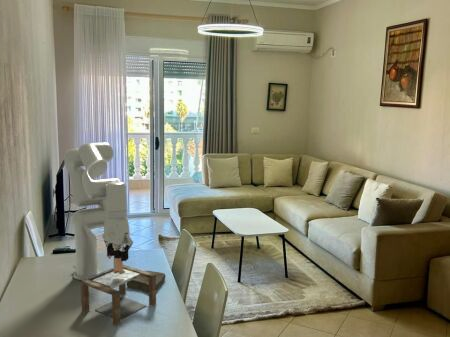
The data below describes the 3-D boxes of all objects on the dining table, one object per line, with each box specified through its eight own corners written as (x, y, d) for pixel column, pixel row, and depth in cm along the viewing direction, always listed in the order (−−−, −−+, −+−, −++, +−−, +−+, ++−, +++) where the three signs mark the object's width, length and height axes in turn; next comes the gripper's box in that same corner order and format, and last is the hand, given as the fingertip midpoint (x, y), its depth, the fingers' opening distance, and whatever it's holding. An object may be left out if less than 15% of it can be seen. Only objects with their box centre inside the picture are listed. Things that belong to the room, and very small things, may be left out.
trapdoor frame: (81, 311, 167) (80, 280, 165) (122, 292, 184) (121, 264, 182) (116, 326, 156) (115, 293, 154) (156, 304, 173) (155, 274, 172)
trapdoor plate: (87, 281, 167) (87, 278, 167) (117, 269, 180) (117, 266, 180) (111, 289, 160) (110, 286, 160) (139, 276, 172) (139, 273, 172)
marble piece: (154, 295, 183) (153, 285, 182) (122, 291, 186) (121, 282, 185) (168, 279, 199) (167, 271, 198) (138, 276, 202) (138, 268, 201)
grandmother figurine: (129, 270, 170) (128, 240, 168) (126, 274, 166) (125, 243, 164) (109, 270, 170) (109, 239, 168) (106, 273, 167) (105, 242, 165)
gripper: (93, 212, 166) (95, 256, 169) (125, 219, 157) (126, 265, 159) (108, 208, 173) (110, 250, 175) (139, 215, 163) (140, 260, 166)
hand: (117, 257), depth 167 cm, fingers closed on grandmother figurine, 7 cm apart
